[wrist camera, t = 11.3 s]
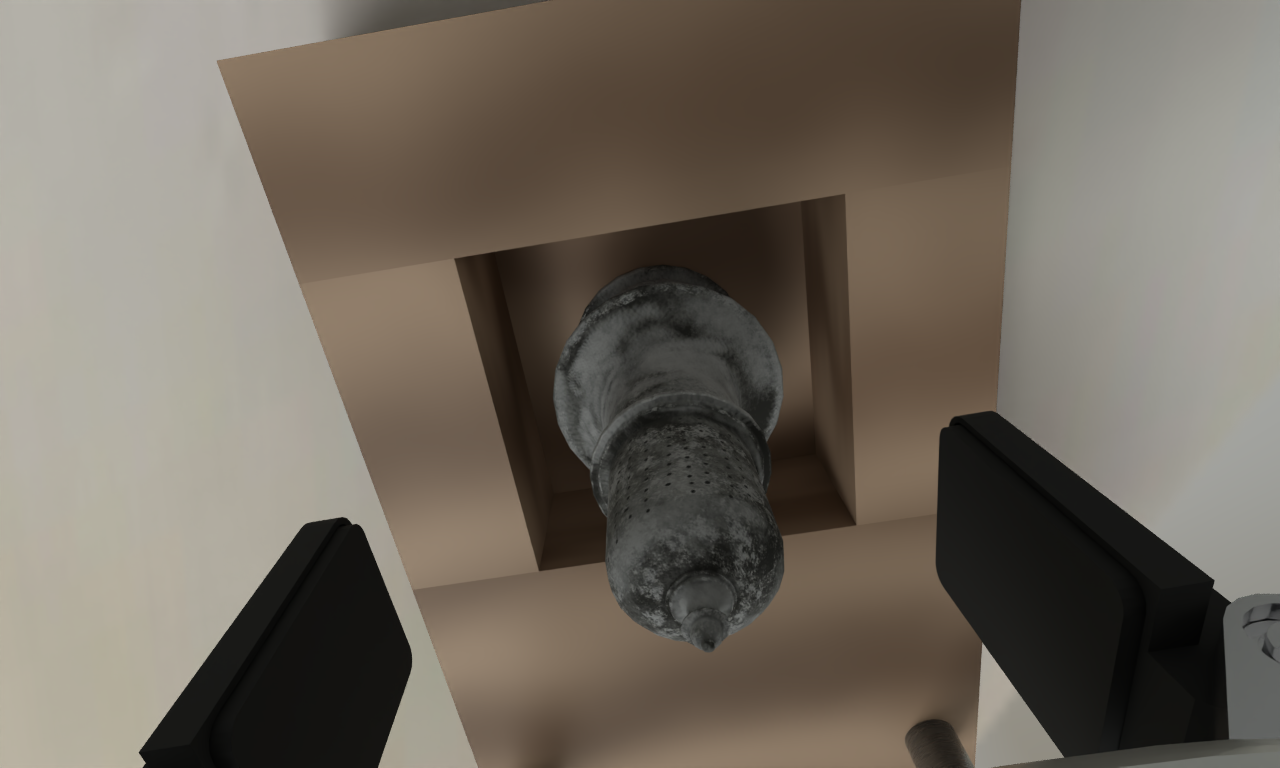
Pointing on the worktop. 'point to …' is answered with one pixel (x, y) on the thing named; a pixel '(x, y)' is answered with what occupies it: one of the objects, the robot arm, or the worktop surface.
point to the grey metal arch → (936, 746)
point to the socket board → (640, 237)
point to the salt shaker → (677, 449)
